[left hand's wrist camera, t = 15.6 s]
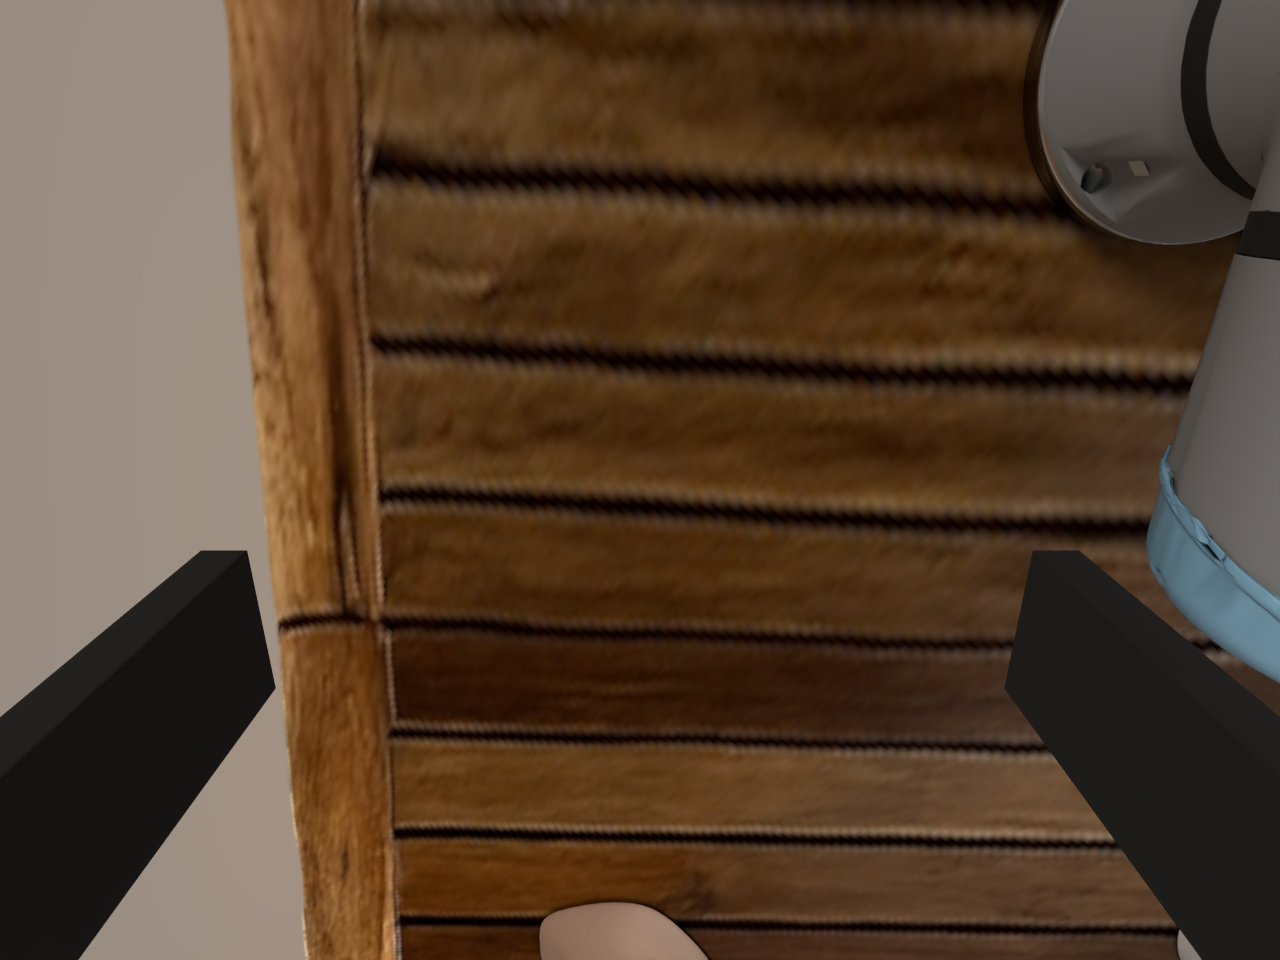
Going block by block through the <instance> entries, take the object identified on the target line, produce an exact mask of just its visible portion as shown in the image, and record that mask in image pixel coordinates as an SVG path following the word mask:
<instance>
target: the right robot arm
mask: <svg viewBox="0 0 1280 960" xmlns="http://www.w3.org/2000/svg"><path fill="white" fill-rule="evenodd" d="M1177 946H1178V953H1179V957H1180V959H1181V960H1201V958H1200V957H1199V955H1198V954H1197V953H1196V951H1195V950H1194V948H1193V947H1192V946H1191V944H1190V943H1189V942H1188V940H1187V939H1186V937H1185V936H1184V935H1183V933H1182V932H1181V931H1180V930H1179V934H1178V941H1177Z"/></svg>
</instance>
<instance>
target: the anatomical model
mask: <svg viewBox="0 0 1280 960" xmlns="http://www.w3.org/2000/svg"><path fill="white" fill-rule="evenodd" d="M540 949H541V957H542V960H708V959H707V957H706V956H705V954H704V953H703V952H702V951H701V950H700V948H699V947H698V946H697V945H696V944H695V943H694V942H693V941H692V940H691V939H690V938H689V937H688V936H687V935H686V934H685V933H684V932H683V931H682V930H681V929H680V928H679V927H678V926H677V925H676V924H674V923H673V922H672V921H671V920H669V919H668V918H667V917H665V916H664V915H662V914H661V913H659V912H657V911H656V910H654V909H652V908H649V907H646V906H643V905H640V904H635V903H626V902H608V903H596V904H588V905H582V906H577V907H572V908H568V909H564V910H560V911H557V912H555V913H553V914H550V915H549V916H548V917H546V918H545V919H544V921H543V922H542V924H541V928H540Z"/></svg>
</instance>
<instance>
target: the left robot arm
mask: <svg viewBox="0 0 1280 960" xmlns="http://www.w3.org/2000/svg"><path fill="white" fill-rule="evenodd" d="M1023 115H1024V127H1025V133H1026V140H1027V144H1028V147H1029V151H1030V155H1031V158H1032V160H1033V163H1034V166H1035V168H1036V171H1037V173H1038V175H1039V177H1040V179H1041V180H1042V182H1043V184H1044V186H1045V187H1046V189H1047V190H1048V192H1049V193H1050V195H1051V196H1052V197H1053V198H1054V199H1055V201H1056V202H1057V203H1058V204H1059V205H1060V206H1061V207H1062V208H1063V209H1064V210H1065V211H1066V212H1067V213H1068V214H1069V215H1070V216H1072V217H1073V218H1075V219H1076V220H1077V221H1079V222H1080V223H1081V224H1083V225H1085V226H1087V227H1089V228H1090V229H1092V230H1094V231H1097V232H1099V233H1102V234H1104V235H1106V236H1110V237H1114V238H1117V239H1121V240H1127V241H1134V242H1142V243H1151V244H1164V245H1181V244H1192V243H1199V242H1205V241H1209V240H1213V239H1217V238H1221V237H1224V236H1227V235H1230V234H1233V233H1235V232H1238V231H1240V230H1242V229H1244V230H1243V233H1242V236H1241V239H1240V242H1239V245H1238V248H1237V251H1236V253H1235V254H1234V256H1233V260H1232V263H1231V266H1230V269H1229V272H1228V275H1227V278H1226V281H1225V284H1224V287H1223V291H1222V294H1221V297H1220V300H1219V303H1218V306H1217V309H1216V312H1215V315H1214V318H1213V321H1212V325H1211V328H1210V331H1209V334H1208V337H1207V340H1206V343H1205V346H1204V349H1203V352H1202V356H1201V359H1200V362H1199V365H1198V368H1197V371H1196V374H1195V377H1194V380H1193V383H1192V387H1191V390H1190V393H1189V395H1188V398H1187V401H1186V404H1185V407H1184V410H1183V413H1182V415H1181V418H1180V421H1179V424H1178V427H1177V430H1176V433H1175V436H1174V438H1173V441H1172V444H1171V445H1169V446H1168V447H1167V449H1166V450H1165V452H1164V454H1163V457H1162V460H1161V462H1160V464H1159V478H1160V486H1159V490H1158V495H1157V499H1156V503H1155V507H1154V511H1153V515H1152V518H1151V522H1150V525H1149V529H1148V534H1147V540H1146V544H1147V548H1146V550H1147V556H1148V561H1149V565H1150V568H1151V570H1152V572H1153V574H1154V575H1155V577H1156V579H1157V581H1158V583H1159V584H1160V585H1161V586H1162V587H1163V588H1164V589H1165V591H1166V595H1167V596H1168V598H1169V600H1170V601H1171V602H1172V604H1173V605H1174V606H1175V607H1176V608H1177V609H1178V610H1179V611H1180V612H1181V613H1182V614H1183V615H1184V616H1185V617H1186V618H1187V619H1188V620H1189V621H1190V622H1191V623H1192V624H1193V625H1194V626H1195V627H1197V628H1198V629H1199V630H1200V631H1201V632H1203V633H1204V634H1205V635H1206V636H1207V637H1209V638H1210V639H1211V640H1213V641H1214V642H1215V643H1216V644H1218V645H1219V646H1220V647H1222V648H1223V649H1225V650H1226V651H1228V652H1229V653H1230V654H1232V655H1233V656H1235V657H1237V658H1238V659H1240V660H1241V661H1243V662H1244V663H1246V664H1248V665H1249V666H1251V667H1252V668H1254V669H1256V670H1257V671H1259V672H1261V673H1262V674H1264V675H1266V676H1268V677H1269V678H1271V679H1273V680H1275V681H1276V682H1278V683H1280V0H1050V2H1049V4H1048V6H1047V8H1046V10H1045V12H1044V14H1043V16H1042V19H1041V21H1040V24H1039V26H1038V29H1037V32H1036V34H1035V37H1034V40H1033V44H1032V47H1031V51H1030V54H1029V59H1028V64H1027V68H1026V74H1025V82H1024V93H1023ZM274 690H275V683H274V678H273V673H272V668H271V664H270V659H269V654H268V649H267V644H266V640H265V635H264V630H263V625H262V620H261V616H260V611H259V606H258V601H257V596H256V591H255V587H254V582H253V577H252V572H251V568H250V563H249V558H248V553H247V551H200V552H199V553H198V554H196V555H195V556H194V557H193V558H192V559H190V560H189V561H188V562H187V563H186V564H184V565H183V566H182V567H181V568H180V569H178V570H177V571H176V572H175V573H174V574H172V575H171V576H170V577H169V578H168V579H166V580H165V581H164V582H163V583H161V584H160V585H159V586H158V587H157V588H155V589H154V590H153V591H152V592H151V593H149V594H148V595H147V596H146V597H145V598H143V599H142V600H141V601H140V602H139V603H137V604H136V605H135V606H134V607H132V608H131V609H130V610H129V611H128V612H126V613H125V614H124V615H123V616H122V617H120V618H119V619H118V620H117V621H116V622H114V623H113V624H112V625H111V626H110V627H108V628H107V629H106V630H105V631H104V632H102V633H101V634H100V635H99V636H98V637H96V638H95V639H94V640H93V641H91V642H90V643H89V644H88V645H87V646H85V647H84V648H83V649H82V650H81V651H79V652H78V653H77V654H76V655H75V656H73V657H72V658H71V659H70V660H69V661H67V662H66V663H65V664H64V665H63V666H61V667H60V668H59V669H58V670H57V671H55V672H54V673H53V674H52V675H51V676H49V677H48V678H47V679H46V680H44V681H43V682H42V683H41V684H40V685H38V686H37V687H36V688H35V689H34V690H32V691H31V692H30V693H29V694H28V695H26V696H25V697H24V698H23V699H22V700H20V701H19V702H18V703H17V704H16V705H14V706H13V707H12V708H11V709H9V710H8V711H7V712H6V713H5V714H3V715H2V716H1V717H0V960H78V959H79V958H80V957H81V955H82V954H83V953H84V951H85V950H86V948H87V947H88V946H89V944H90V943H91V941H92V940H93V939H94V937H95V936H96V935H97V933H98V932H99V931H100V929H101V928H102V926H103V925H104V924H105V922H106V921H107V920H108V918H109V917H110V915H111V914H112V913H113V911H114V910H115V909H116V907H117V906H118V904H119V903H120V902H121V900H122V899H123V898H124V896H125V895H126V893H127V892H128V891H129V889H130V888H131V886H132V885H133V884H134V882H135V881H136V880H137V878H138V877H139V876H140V874H141V873H142V871H143V870H144V869H145V867H146V866H147V865H148V863H149V862H150V860H151V859H152V858H153V856H154V855H155V854H156V852H157V851H158V849H159V848H160V847H161V845H162V844H163V843H164V841H165V840H166V838H167V837H168V836H169V834H170V833H171V831H172V830H173V829H174V827H175V826H176V825H177V823H178V822H179V821H180V819H181V818H182V816H183V815H184V814H185V812H186V811H187V809H188V808H189V807H190V805H191V804H192V803H193V801H194V800H195V798H196V797H197V796H198V794H199V793H200V792H201V790H202V789H203V787H204V786H205V785H206V783H207V782H208V780H209V779H210V778H211V776H212V775H213V774H214V772H215V771H216V770H217V768H218V767H219V765H220V764H221V763H222V761H223V760H224V759H225V757H226V756H227V754H228V753H229V752H230V750H231V749H232V748H233V746H234V745H235V743H236V742H237V741H238V739H239V738H240V737H241V735H242V734H243V732H244V731H245V730H246V728H247V727H248V726H249V724H250V723H251V721H252V720H253V719H254V717H255V716H256V714H257V713H258V712H259V710H260V709H261V708H262V706H263V705H264V703H265V702H266V701H267V699H268V698H269V697H270V695H271V694H272V692H273V691H274ZM1005 690H1006V691H1007V693H1008V694H1009V695H1010V697H1011V698H1012V699H1013V701H1014V702H1015V704H1016V705H1017V706H1018V708H1019V709H1020V710H1021V712H1022V713H1023V715H1024V716H1025V717H1026V719H1027V720H1028V721H1029V723H1030V724H1031V726H1032V727H1033V728H1034V730H1035V731H1036V732H1037V734H1038V735H1039V737H1040V738H1041V739H1042V741H1043V742H1044V743H1045V745H1046V746H1047V748H1048V749H1049V750H1050V752H1051V753H1052V754H1053V756H1054V757H1055V759H1056V760H1057V761H1058V763H1059V764H1060V765H1061V767H1062V768H1063V770H1064V771H1065V772H1066V774H1067V775H1068V776H1069V778H1070V779H1071V781H1072V782H1073V783H1074V785H1075V786H1076V787H1077V789H1078V790H1079V792H1080V793H1081V794H1082V796H1083V797H1084V798H1085V800H1086V801H1087V803H1088V804H1089V805H1090V807H1091V808H1092V809H1093V811H1094V812H1095V814H1096V815H1097V816H1098V818H1099V819H1100V821H1101V822H1102V823H1103V825H1104V826H1105V827H1106V829H1107V830H1108V832H1109V833H1110V834H1111V836H1112V837H1113V838H1114V840H1115V841H1116V843H1117V844H1118V845H1119V847H1120V848H1121V849H1122V851H1123V852H1124V854H1125V855H1126V856H1127V858H1128V859H1129V860H1130V862H1131V863H1132V865H1133V866H1134V867H1135V869H1136V870H1137V871H1138V873H1139V874H1140V876H1141V877H1142V878H1143V880H1144V881H1145V882H1146V884H1147V885H1148V887H1149V888H1150V889H1151V891H1152V892H1153V893H1154V895H1155V896H1156V898H1157V899H1158V900H1159V902H1160V903H1161V904H1162V906H1163V907H1164V909H1165V910H1166V911H1167V913H1168V914H1169V915H1170V917H1171V918H1172V920H1173V921H1174V922H1175V924H1176V925H1177V926H1178V928H1179V929H1180V931H1181V932H1182V933H1183V935H1184V936H1185V937H1186V939H1187V940H1188V942H1189V943H1190V944H1191V946H1192V947H1193V948H1194V950H1195V951H1196V953H1197V954H1198V955H1199V957H1200V958H1201V960H1280V717H1279V716H1278V715H1277V714H1275V713H1274V712H1273V711H1272V710H1271V709H1269V708H1268V707H1267V706H1266V705H1264V704H1263V703H1262V702H1261V701H1260V700H1258V699H1257V698H1256V697H1255V696H1254V695H1252V694H1251V693H1250V692H1249V691H1248V690H1246V689H1245V688H1244V687H1243V686H1242V685H1240V684H1239V683H1238V682H1237V681H1236V680H1234V679H1233V678H1232V677H1231V676H1230V675H1228V674H1227V673H1226V672H1225V671H1223V670H1222V669H1221V668H1220V667H1219V666H1217V665H1216V664H1215V663H1214V662H1213V661H1211V660H1210V659H1209V658H1208V657H1207V656H1205V655H1204V654H1203V653H1202V652H1201V651H1199V650H1198V649H1197V648H1196V647H1195V646H1193V645H1192V644H1191V643H1190V642H1189V641H1187V640H1186V639H1185V638H1184V637H1182V636H1181V635H1180V634H1179V633H1178V632H1176V631H1175V630H1174V629H1173V628H1172V627H1170V626H1169V625H1168V624H1167V623H1166V622H1164V621H1163V620H1162V619H1161V618H1160V617H1158V616H1157V615H1156V614H1155V613H1154V612H1152V611H1151V610H1150V609H1149V608H1148V607H1146V606H1145V605H1144V604H1143V603H1141V602H1140V601H1139V600H1138V599H1137V598H1135V597H1134V596H1133V595H1132V594H1131V593H1129V592H1128V591H1127V590H1126V589H1125V588H1123V587H1122V586H1121V585H1120V584H1119V583H1117V582H1116V581H1115V580H1114V579H1113V578H1111V577H1110V576H1109V575H1108V574H1106V573H1105V572H1104V571H1103V570H1102V569H1100V568H1099V567H1098V566H1097V565H1096V564H1094V563H1093V562H1092V561H1091V560H1090V559H1088V558H1087V557H1086V556H1085V555H1084V554H1082V553H1081V552H1080V551H1033V553H1032V558H1031V563H1030V567H1029V572H1028V577H1027V582H1026V587H1025V591H1024V596H1023V601H1022V606H1021V611H1020V616H1019V620H1018V625H1017V630H1016V635H1015V640H1014V644H1013V649H1012V654H1011V659H1010V664H1009V668H1008V673H1007V678H1006V683H1005Z"/></svg>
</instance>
